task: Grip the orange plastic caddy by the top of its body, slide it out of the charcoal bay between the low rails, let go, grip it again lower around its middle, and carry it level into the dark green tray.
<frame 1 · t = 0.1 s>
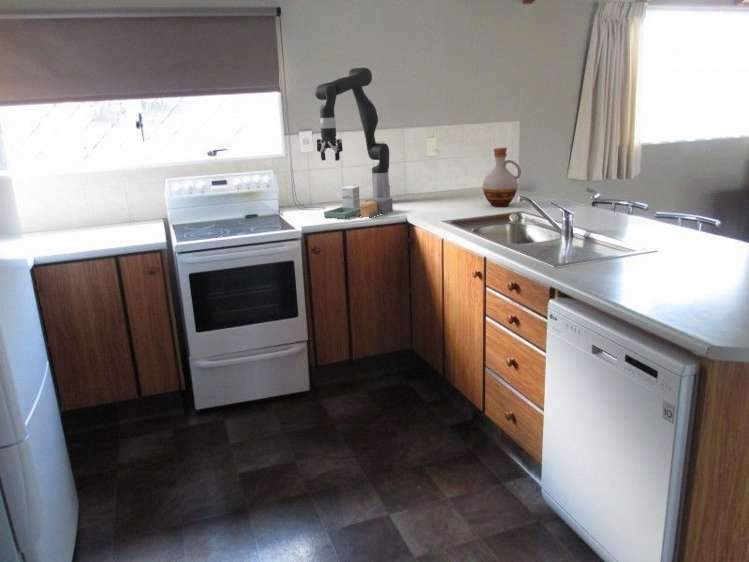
hand: (330, 160, 317), 29 cm above the worktop, tool pointing down, fingers open, 8 cm apart
jug: (501, 206, 334), on the worktop
toner caddy: (369, 216, 325), on the worktop
supplement box: (351, 210, 344), on the worktop
printer bay: (370, 215, 326), on the worktop
tray: (343, 215, 329), on the worktop
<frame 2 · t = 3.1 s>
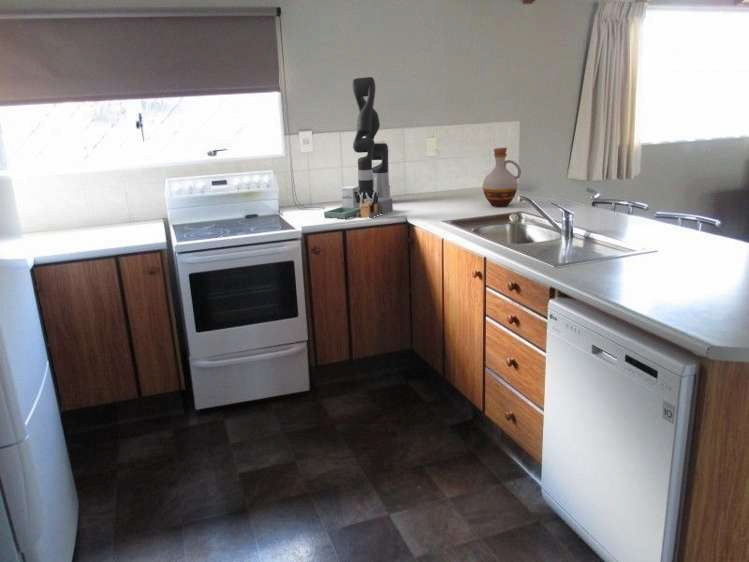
hand: (367, 211, 323), 2 cm above the worktop, tool pointing down, fingers closed on toner caddy, 5 cm apart
toner caddy: (369, 216, 325), on the worktop, touching gripper
everything else where it was.
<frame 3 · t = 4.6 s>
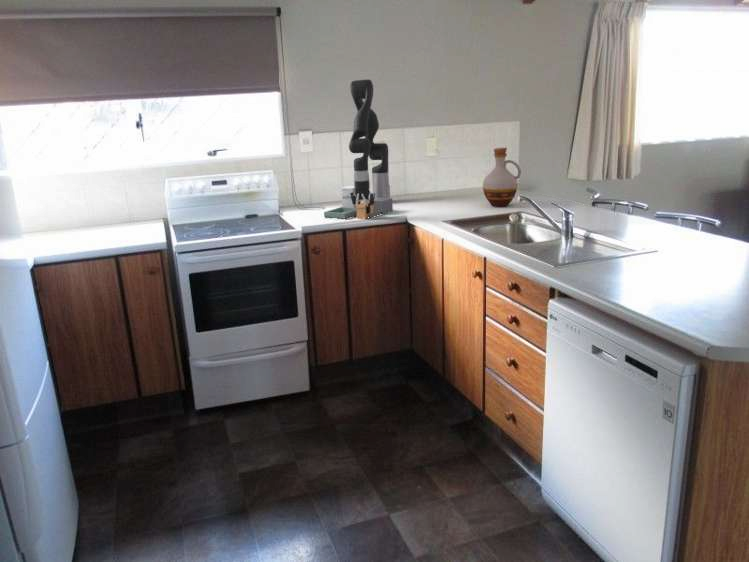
hand: (363, 213, 320), 3 cm above the worktop, tool pointing down, fingers closed on toner caddy, 5 cm apart
toner caddy: (365, 217, 322), on the worktop, touching gripper
everything else where it was.
when the fingers open (2 cm above the worktop, at t = 6.4 s): toner caddy stays where it is, on the worktop.
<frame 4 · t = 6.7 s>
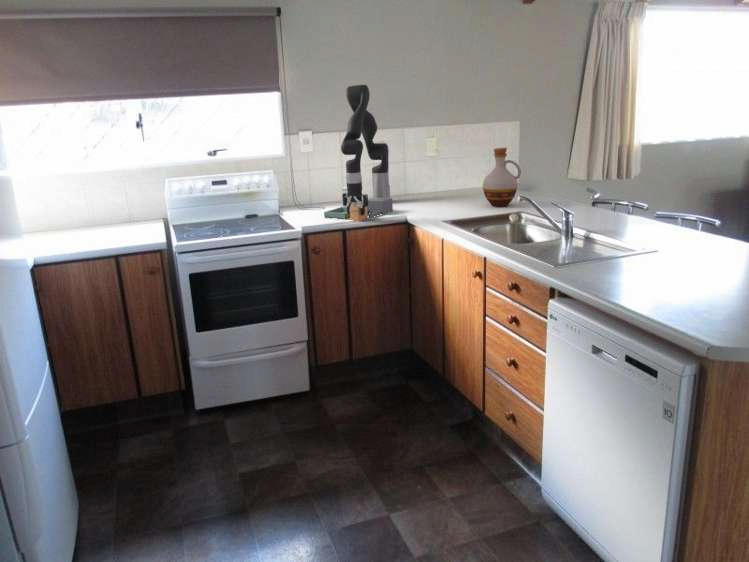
hand: (356, 214, 315), 3 cm above the worktop, tool pointing down, fingers open, 7 cm apart
toner caddy: (359, 219, 318), on the worktop
everything else where it was.
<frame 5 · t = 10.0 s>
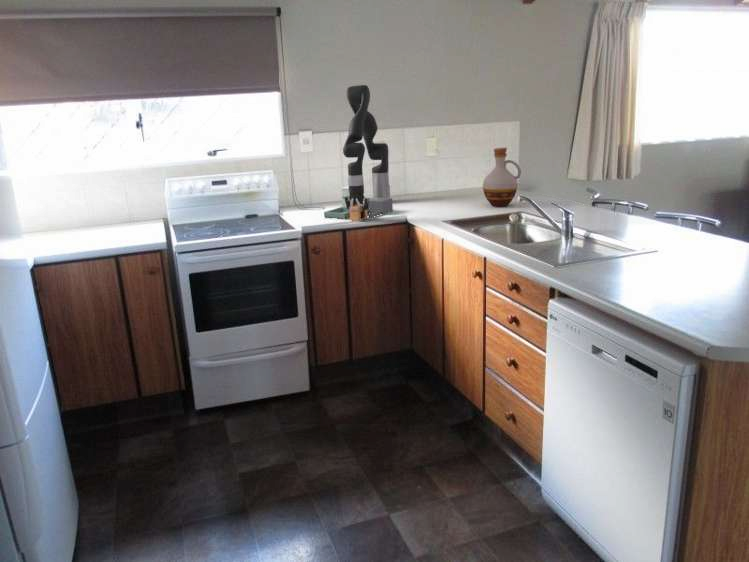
hand: (357, 217, 317), 1 cm above the worktop, tool pointing down, fingers closed on toner caddy, 5 cm apart
toner caddy: (358, 219, 318), on the worktop, touching gripper
everything else where it was.
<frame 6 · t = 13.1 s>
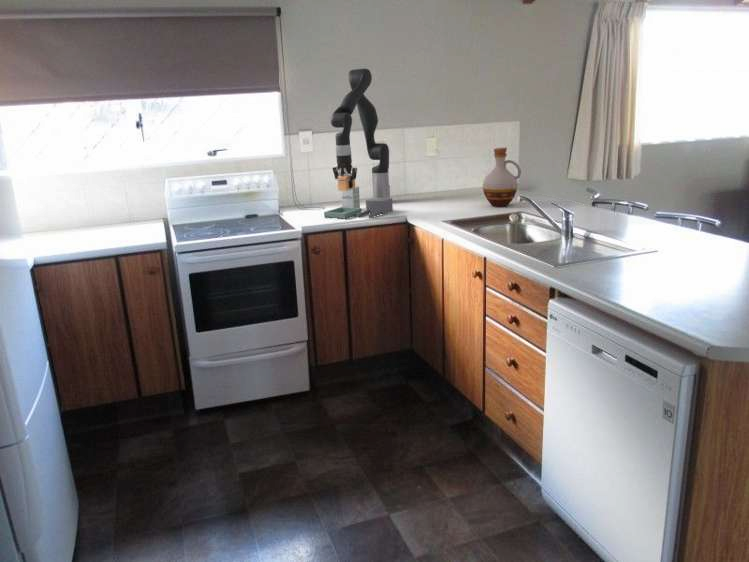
hand: (346, 187, 323), 15 cm above the worktop, tool pointing down, fingers closed on toner caddy, 5 cm apart
toner caddy: (347, 189, 323), point 14 cm above the worktop, touching gripper
everything else where it was.
when the fingers open (3 cm above the worktop, at t = 16.2 s): toner caddy drops 1 cm, resting on tray.
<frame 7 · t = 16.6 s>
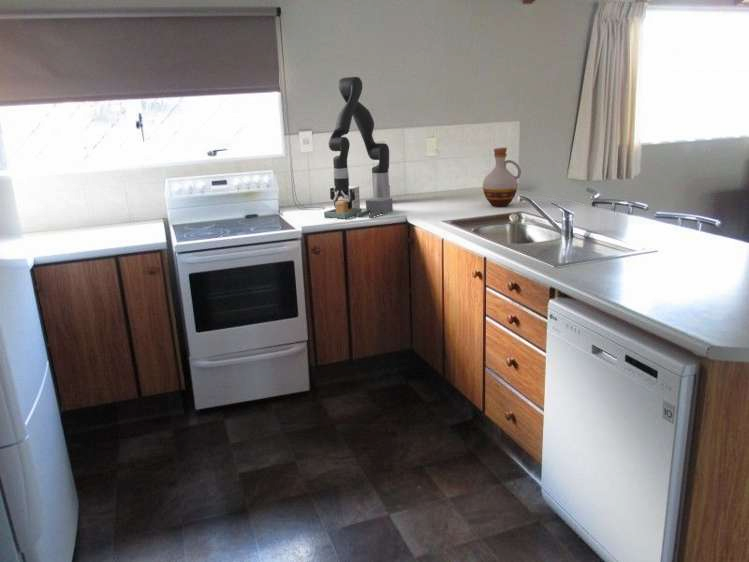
hand: (343, 208, 328), 4 cm above the worktop, tool pointing down, fingers open, 8 cm apart
toner caddy: (344, 213, 330), point 1 cm above the worktop, touching tray
everything else where it was.
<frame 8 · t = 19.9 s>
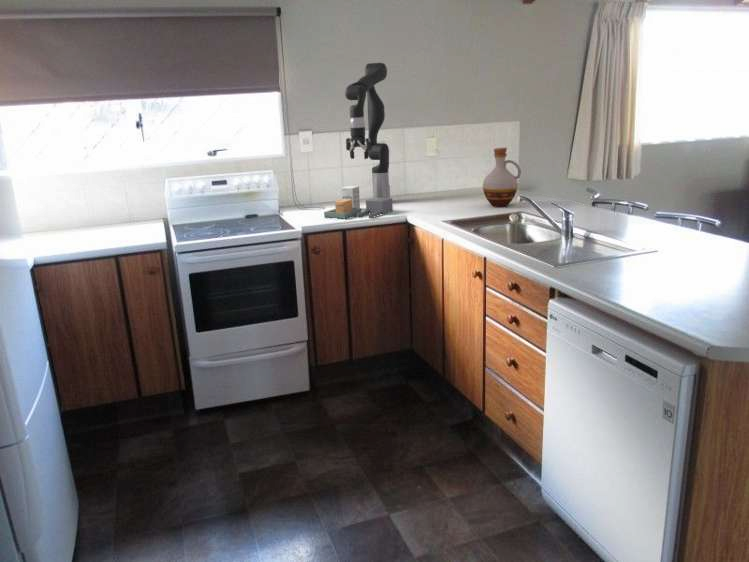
hand: (359, 158, 327), 28 cm above the worktop, tool pointing down, fingers open, 8 cm apart
nothing on the worktop moved.
at the end: toner caddy inside the target area on the tray (1.2 cm from its centre), point 0.8 cm above the tray's base; toner caddy tilted 0°; the gripper is holding nothing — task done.
